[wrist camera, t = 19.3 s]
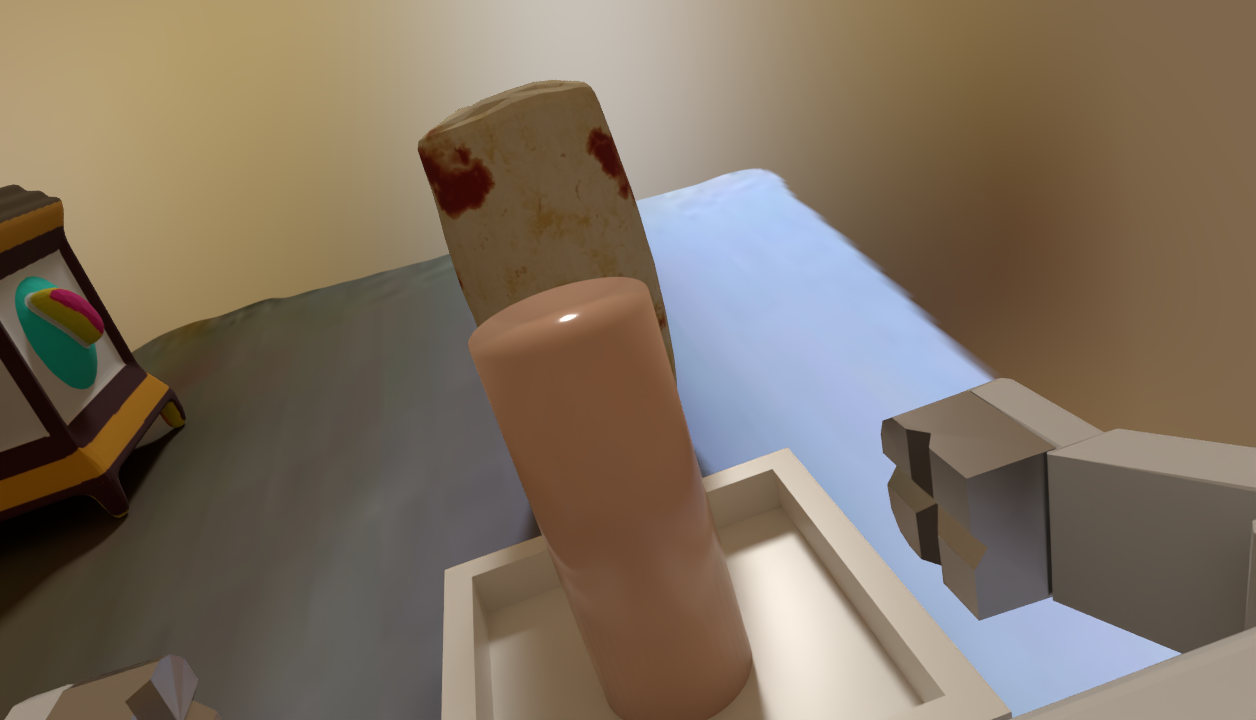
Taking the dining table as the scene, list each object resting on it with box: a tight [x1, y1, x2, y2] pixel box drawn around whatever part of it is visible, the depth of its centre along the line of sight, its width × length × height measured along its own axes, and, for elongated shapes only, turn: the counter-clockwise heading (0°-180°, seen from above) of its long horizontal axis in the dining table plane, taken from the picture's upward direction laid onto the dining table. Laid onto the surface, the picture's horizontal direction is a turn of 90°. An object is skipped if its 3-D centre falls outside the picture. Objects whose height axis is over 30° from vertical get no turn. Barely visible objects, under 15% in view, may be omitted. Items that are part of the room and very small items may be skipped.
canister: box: [468, 277, 752, 720], centre depth 27 cm, size 6×6×14 cm
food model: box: [418, 80, 677, 387], centre depth 42 cm, size 10×7×20 cm
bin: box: [442, 447, 1012, 720], centre depth 29 cm, size 16×16×2 cm
